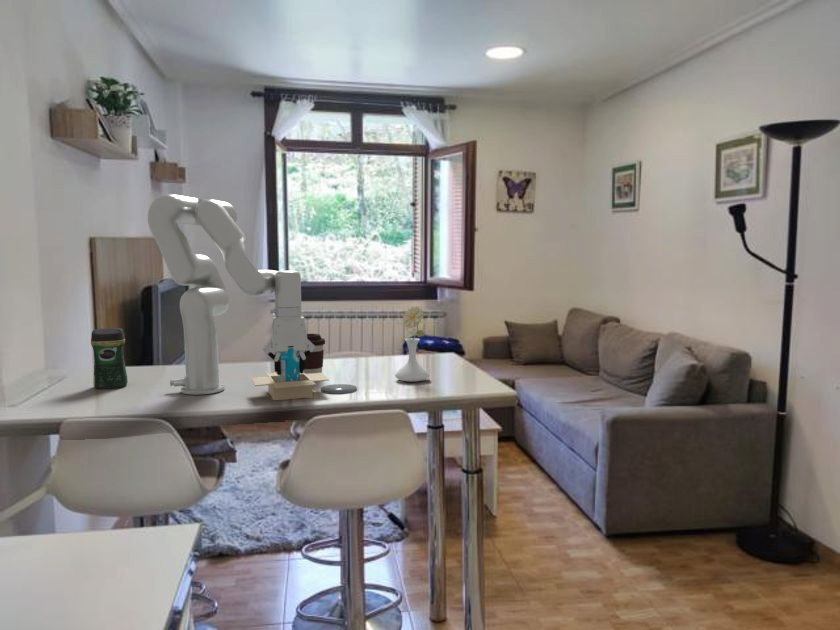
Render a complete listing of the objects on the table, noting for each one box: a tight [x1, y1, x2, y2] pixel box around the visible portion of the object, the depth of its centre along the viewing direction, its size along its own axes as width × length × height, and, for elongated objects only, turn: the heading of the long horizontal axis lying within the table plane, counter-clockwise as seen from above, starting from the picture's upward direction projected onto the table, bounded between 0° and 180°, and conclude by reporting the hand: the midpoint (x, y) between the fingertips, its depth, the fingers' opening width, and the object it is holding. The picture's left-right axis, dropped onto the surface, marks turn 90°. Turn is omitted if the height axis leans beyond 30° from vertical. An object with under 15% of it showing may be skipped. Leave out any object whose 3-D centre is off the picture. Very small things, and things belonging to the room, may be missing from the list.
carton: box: [250, 372, 330, 401], centre depth 182 cm, size 21×21×5 cm
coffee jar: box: [90, 327, 128, 390], centre depth 193 cm, size 10×8×19 cm
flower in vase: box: [394, 305, 430, 383], centre depth 200 cm, size 13×11×25 cm
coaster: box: [320, 383, 358, 395], centre depth 188 cm, size 11×11×1 cm
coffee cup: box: [303, 333, 326, 374], centre depth 203 cm, size 10×10×15 cm
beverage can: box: [279, 346, 300, 382], centre depth 181 cm, size 6×6×15 cm
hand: (289, 372), depth 181 cm, fingers closed on beverage can, 5 cm apart
